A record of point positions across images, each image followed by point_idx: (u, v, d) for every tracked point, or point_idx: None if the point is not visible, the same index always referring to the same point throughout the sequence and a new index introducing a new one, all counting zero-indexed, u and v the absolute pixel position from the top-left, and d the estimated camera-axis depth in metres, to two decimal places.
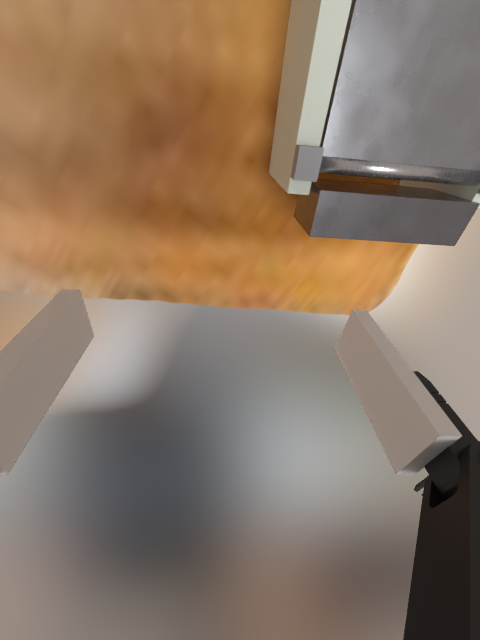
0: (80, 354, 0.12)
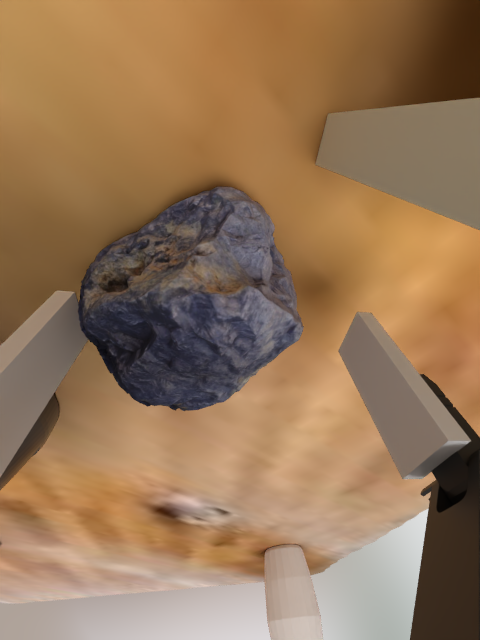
0: (75, 356, 0.12)
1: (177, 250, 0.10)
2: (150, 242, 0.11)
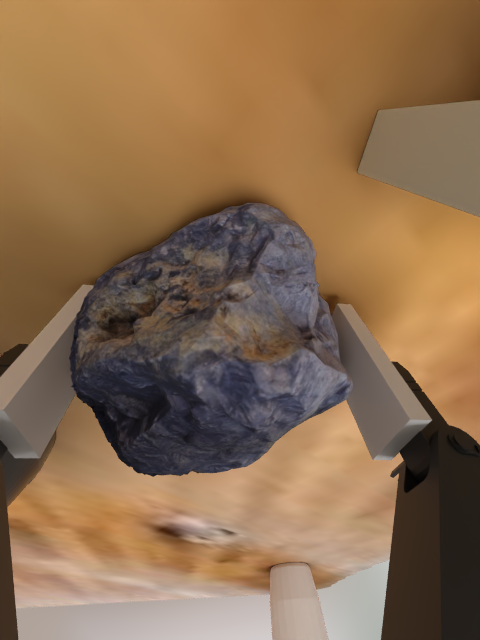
0: None
1: (198, 285, 0.08)
2: (162, 272, 0.08)
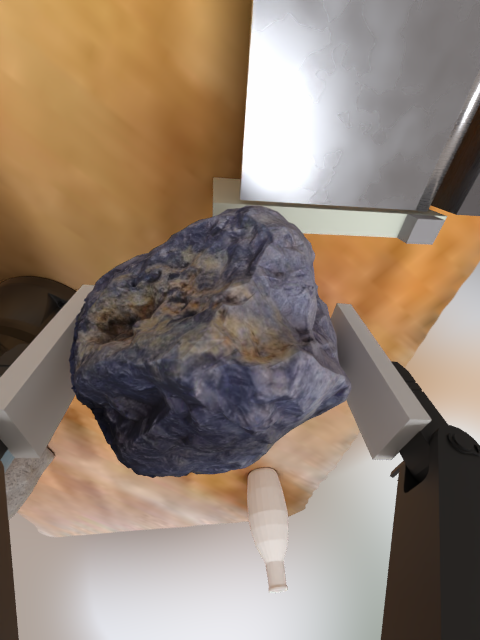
0: None
1: (197, 287, 0.08)
2: (162, 274, 0.09)
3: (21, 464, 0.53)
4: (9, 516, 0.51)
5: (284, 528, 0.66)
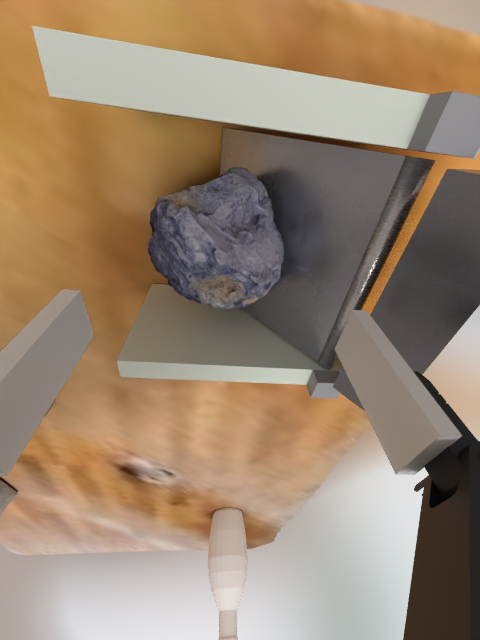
0: (80, 354, 0.12)
1: None
2: None
3: None
4: None
5: (241, 576, 0.67)
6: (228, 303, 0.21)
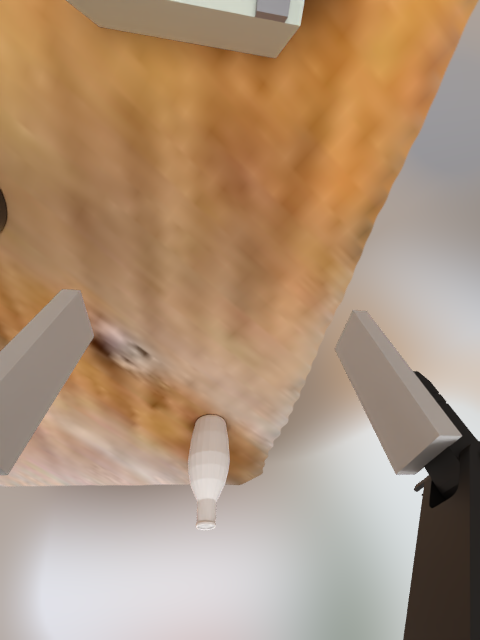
0: (80, 354, 0.12)
1: None
2: None
3: None
4: None
5: (222, 470, 0.64)
6: None
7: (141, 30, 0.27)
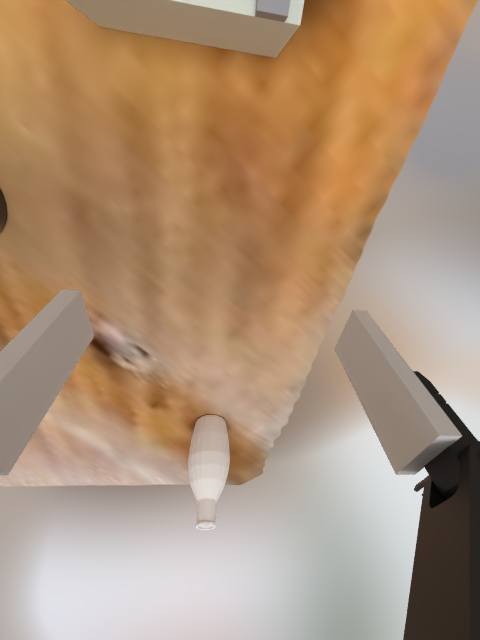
0: (80, 354, 0.12)
1: None
2: None
3: None
4: None
5: (222, 469, 0.64)
6: None
7: (141, 30, 0.27)
